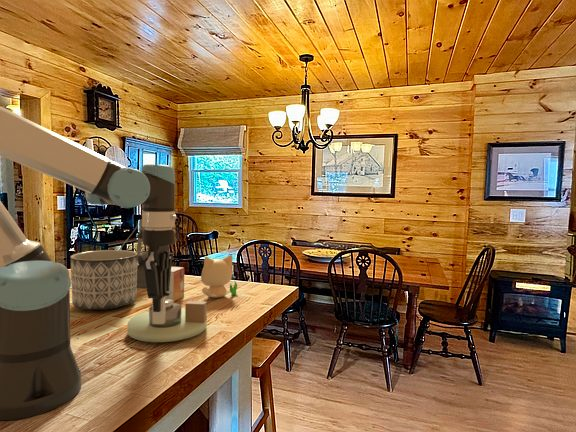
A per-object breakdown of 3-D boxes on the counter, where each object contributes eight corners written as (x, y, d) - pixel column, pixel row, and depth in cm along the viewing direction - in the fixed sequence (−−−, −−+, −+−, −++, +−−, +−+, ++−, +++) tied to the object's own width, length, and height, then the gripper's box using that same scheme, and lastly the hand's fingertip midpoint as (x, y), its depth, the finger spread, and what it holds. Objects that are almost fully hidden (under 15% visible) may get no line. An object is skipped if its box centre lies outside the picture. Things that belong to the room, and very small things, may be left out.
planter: (77, 299, 125) (76, 250, 124) (138, 295, 132) (138, 249, 131) (65, 317, 107) (64, 261, 106) (136, 311, 114) (136, 258, 113)
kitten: (230, 290, 141) (231, 251, 140) (243, 297, 132) (243, 255, 132) (192, 295, 132) (193, 254, 131) (203, 303, 124) (203, 258, 123)
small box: (173, 302, 124) (173, 271, 123) (158, 301, 125) (158, 270, 124) (184, 296, 132) (184, 267, 131) (170, 295, 133) (170, 266, 132)
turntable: (193, 344, 88) (193, 315, 88) (112, 340, 89) (111, 311, 89) (214, 316, 108) (215, 292, 108) (147, 313, 109) (148, 290, 109)
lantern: (105, 286, 142) (104, 208, 141) (144, 276, 161) (144, 207, 159) (141, 292, 135) (141, 210, 134) (177, 280, 154) (178, 208, 152)
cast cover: (173, 328, 92) (173, 307, 92) (143, 326, 93) (143, 305, 93) (186, 318, 100) (186, 298, 100) (157, 316, 101) (157, 296, 101)
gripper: (163, 231, 84) (163, 333, 85) (183, 226, 97) (182, 315, 98) (131, 230, 84) (131, 332, 86) (155, 225, 97) (155, 313, 99)
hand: (159, 322), depth 92 cm, fingers closed
